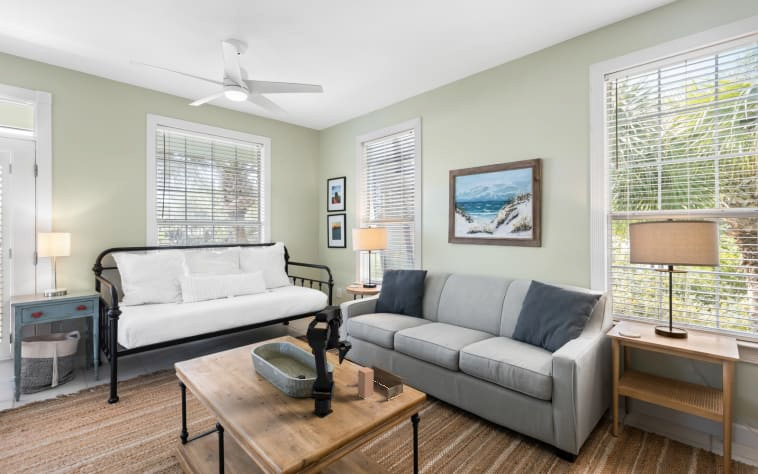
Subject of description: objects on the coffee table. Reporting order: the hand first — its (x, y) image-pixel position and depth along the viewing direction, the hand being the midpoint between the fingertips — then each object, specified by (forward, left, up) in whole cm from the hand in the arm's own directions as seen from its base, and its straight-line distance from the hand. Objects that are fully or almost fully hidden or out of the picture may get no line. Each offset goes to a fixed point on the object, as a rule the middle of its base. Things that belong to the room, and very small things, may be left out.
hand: (332, 366), depth 162 cm
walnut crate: (+17, -15, -13) cm, 26 cm away
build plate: (-1, +19, -14) cm, 24 cm away
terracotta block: (+9, -13, -13) cm, 20 cm away
